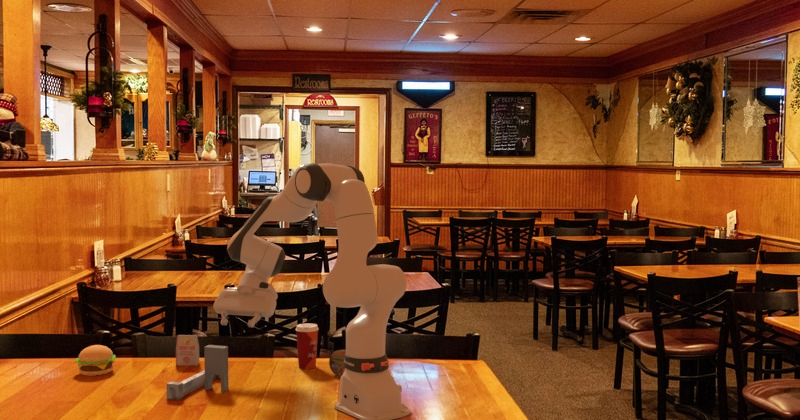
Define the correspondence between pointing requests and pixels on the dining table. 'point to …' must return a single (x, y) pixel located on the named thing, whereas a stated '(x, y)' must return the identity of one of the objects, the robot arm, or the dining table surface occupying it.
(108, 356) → the hamburger
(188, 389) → the rail
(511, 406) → the dining table surface
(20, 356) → the dining table surface
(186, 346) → the printed food carton
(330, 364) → the tin
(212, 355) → the clip
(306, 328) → the paper cup
